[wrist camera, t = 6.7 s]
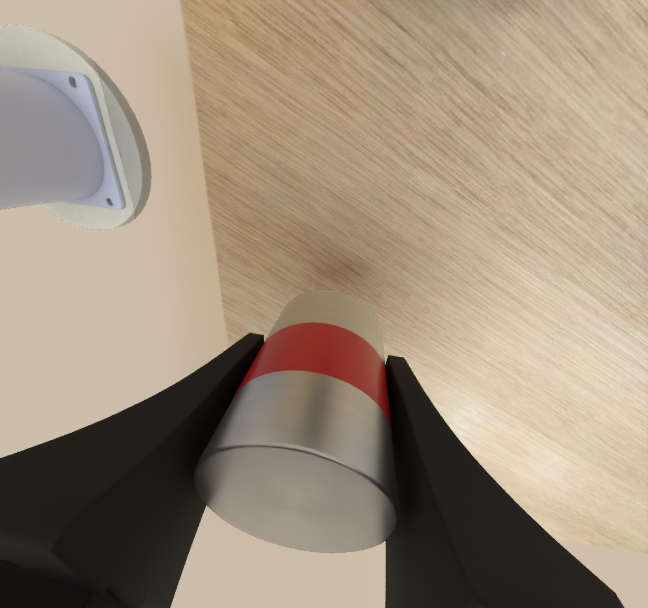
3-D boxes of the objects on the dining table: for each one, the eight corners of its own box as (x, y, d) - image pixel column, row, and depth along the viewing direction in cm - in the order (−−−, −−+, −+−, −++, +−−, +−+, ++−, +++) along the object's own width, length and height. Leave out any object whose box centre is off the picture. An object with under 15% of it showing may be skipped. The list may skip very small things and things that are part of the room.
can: (277, 366, 14) (207, 530, 8) (276, 280, 11) (171, 423, 5) (371, 382, 13) (377, 568, 7) (393, 297, 11) (430, 474, 5)
